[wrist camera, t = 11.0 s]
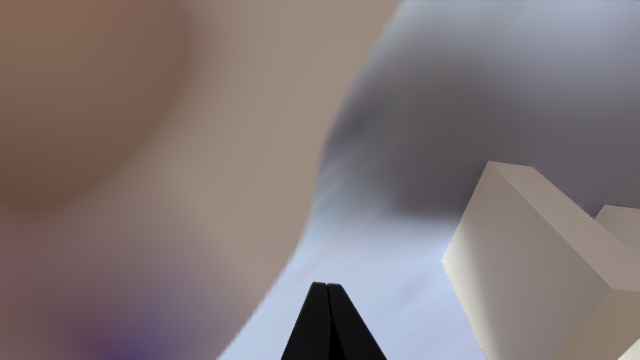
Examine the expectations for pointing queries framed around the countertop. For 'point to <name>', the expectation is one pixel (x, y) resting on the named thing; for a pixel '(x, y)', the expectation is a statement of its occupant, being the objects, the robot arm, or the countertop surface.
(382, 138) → the countertop surface
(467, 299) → the domino
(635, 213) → the domino
